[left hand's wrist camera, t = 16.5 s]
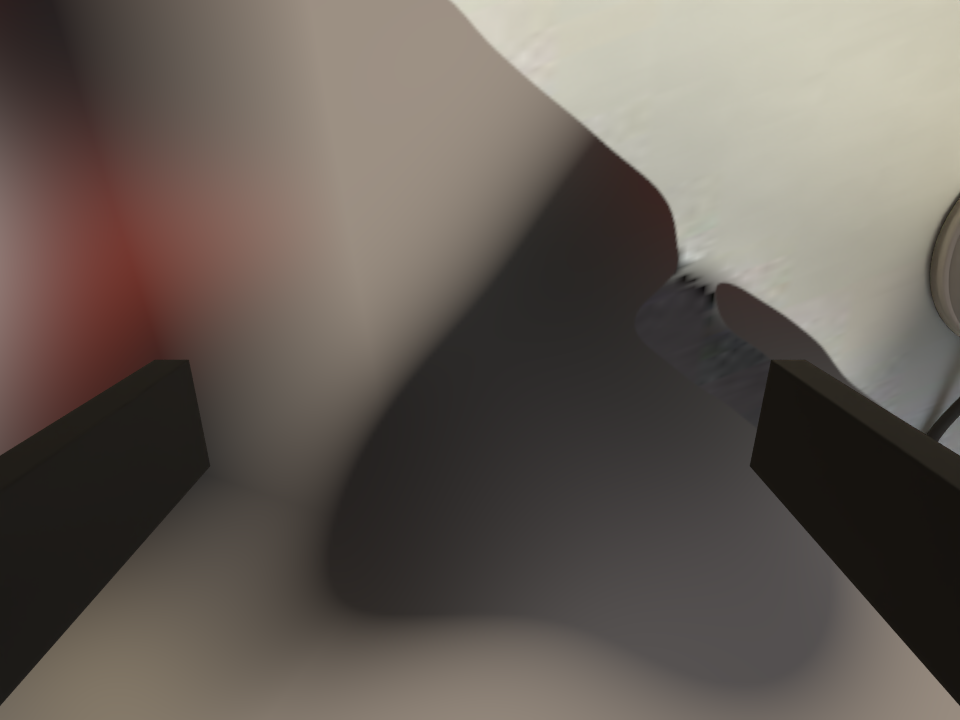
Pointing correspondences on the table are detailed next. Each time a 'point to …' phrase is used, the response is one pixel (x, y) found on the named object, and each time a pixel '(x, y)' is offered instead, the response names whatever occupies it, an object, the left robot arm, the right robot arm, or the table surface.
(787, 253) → the table surface
